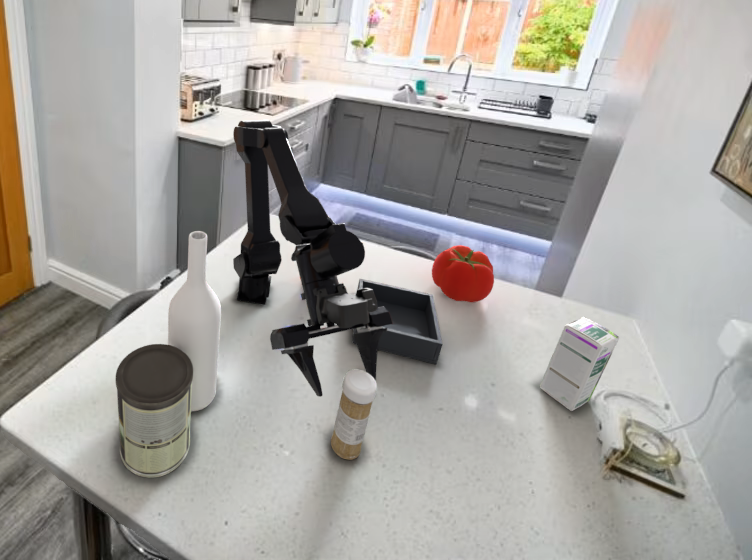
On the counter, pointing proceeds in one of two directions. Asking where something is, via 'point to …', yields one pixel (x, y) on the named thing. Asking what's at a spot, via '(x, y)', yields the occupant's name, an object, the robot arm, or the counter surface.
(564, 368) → the syrup box
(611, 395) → the counter surface
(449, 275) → the tomato
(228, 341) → the counter surface
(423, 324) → the bin
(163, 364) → the coffee can
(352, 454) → the sprinkles bottle
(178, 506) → the counter surface
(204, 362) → the bottle
